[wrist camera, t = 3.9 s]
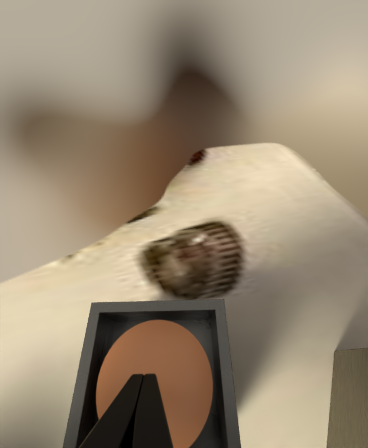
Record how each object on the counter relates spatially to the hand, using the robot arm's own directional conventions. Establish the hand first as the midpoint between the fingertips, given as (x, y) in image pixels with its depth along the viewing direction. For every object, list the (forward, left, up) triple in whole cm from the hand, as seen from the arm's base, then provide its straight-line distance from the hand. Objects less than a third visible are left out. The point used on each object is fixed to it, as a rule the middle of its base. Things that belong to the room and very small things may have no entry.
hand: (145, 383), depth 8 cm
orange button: (0, 0, -5) cm, 5 cm away
